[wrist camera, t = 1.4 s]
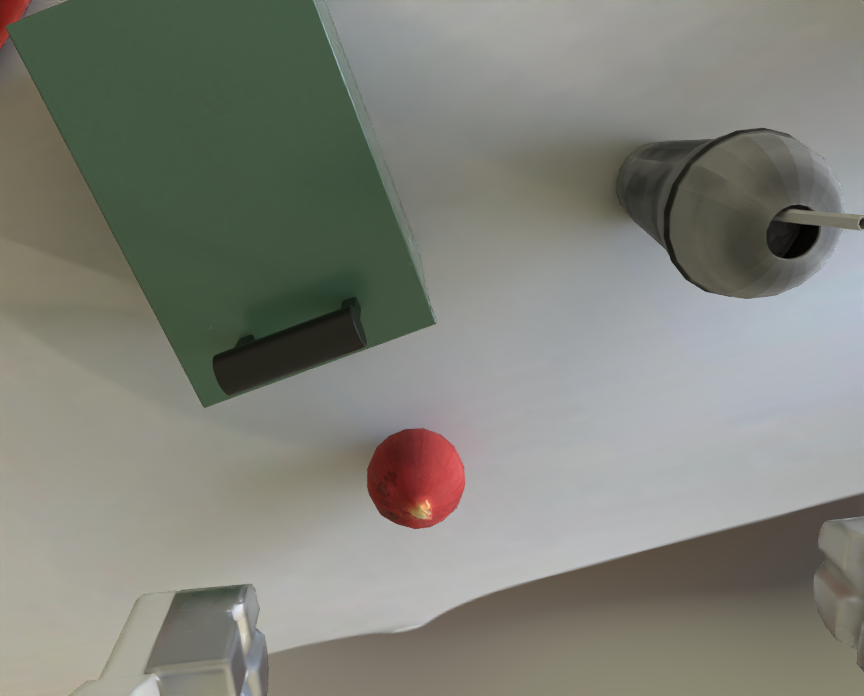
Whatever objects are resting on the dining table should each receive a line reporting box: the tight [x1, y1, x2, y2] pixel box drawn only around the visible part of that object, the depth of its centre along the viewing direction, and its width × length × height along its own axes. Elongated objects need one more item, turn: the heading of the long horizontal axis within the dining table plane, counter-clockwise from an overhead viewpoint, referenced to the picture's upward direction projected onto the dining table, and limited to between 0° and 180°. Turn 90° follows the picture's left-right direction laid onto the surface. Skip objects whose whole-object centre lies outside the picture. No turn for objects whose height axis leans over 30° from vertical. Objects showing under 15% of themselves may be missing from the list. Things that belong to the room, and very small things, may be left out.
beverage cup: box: [617, 128, 864, 299], centre depth 33 cm, size 7×7×20 cm
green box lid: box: [5, 0, 436, 408], centre depth 29 cm, size 17×12×5 cm, turn 20°
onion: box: [367, 428, 465, 529], centre depth 44 cm, size 6×6×8 cm
